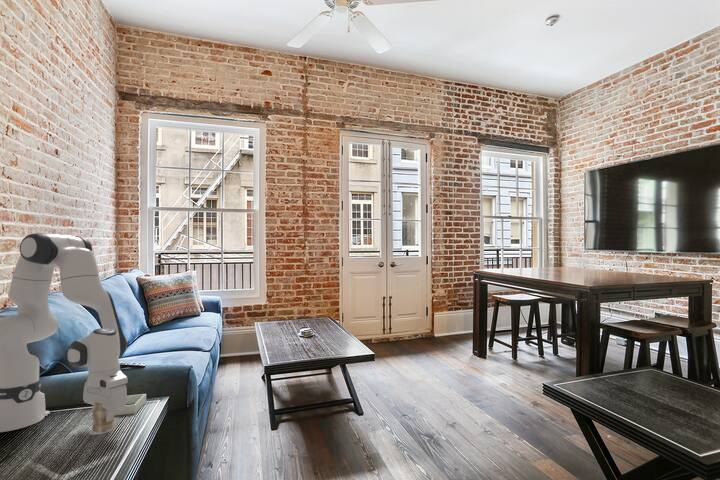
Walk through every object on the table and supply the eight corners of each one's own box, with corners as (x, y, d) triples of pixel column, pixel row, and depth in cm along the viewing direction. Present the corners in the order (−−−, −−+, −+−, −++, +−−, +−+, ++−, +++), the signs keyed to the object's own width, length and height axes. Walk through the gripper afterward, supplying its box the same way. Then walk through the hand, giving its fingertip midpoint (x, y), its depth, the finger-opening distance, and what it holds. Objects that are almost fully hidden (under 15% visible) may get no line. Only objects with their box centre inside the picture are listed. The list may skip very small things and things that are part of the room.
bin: (98, 419, 133) (98, 408, 133) (112, 407, 144) (112, 397, 145) (135, 415, 135) (135, 404, 136) (146, 403, 147) (146, 393, 147)
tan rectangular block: (92, 430, 122) (93, 402, 123) (106, 425, 126) (107, 398, 126) (99, 432, 120) (100, 404, 120) (113, 427, 124) (114, 400, 124)
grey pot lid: (83, 434, 121) (83, 421, 121) (109, 424, 128) (109, 412, 128) (96, 439, 117) (96, 426, 118) (122, 429, 124) (122, 416, 125)
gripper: (78, 376, 126) (77, 417, 125) (110, 384, 116) (109, 428, 115) (98, 371, 132) (97, 410, 131) (130, 378, 122) (130, 421, 121)
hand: (103, 419), depth 123 cm, fingers closed on tan rectangular block, 4 cm apart
